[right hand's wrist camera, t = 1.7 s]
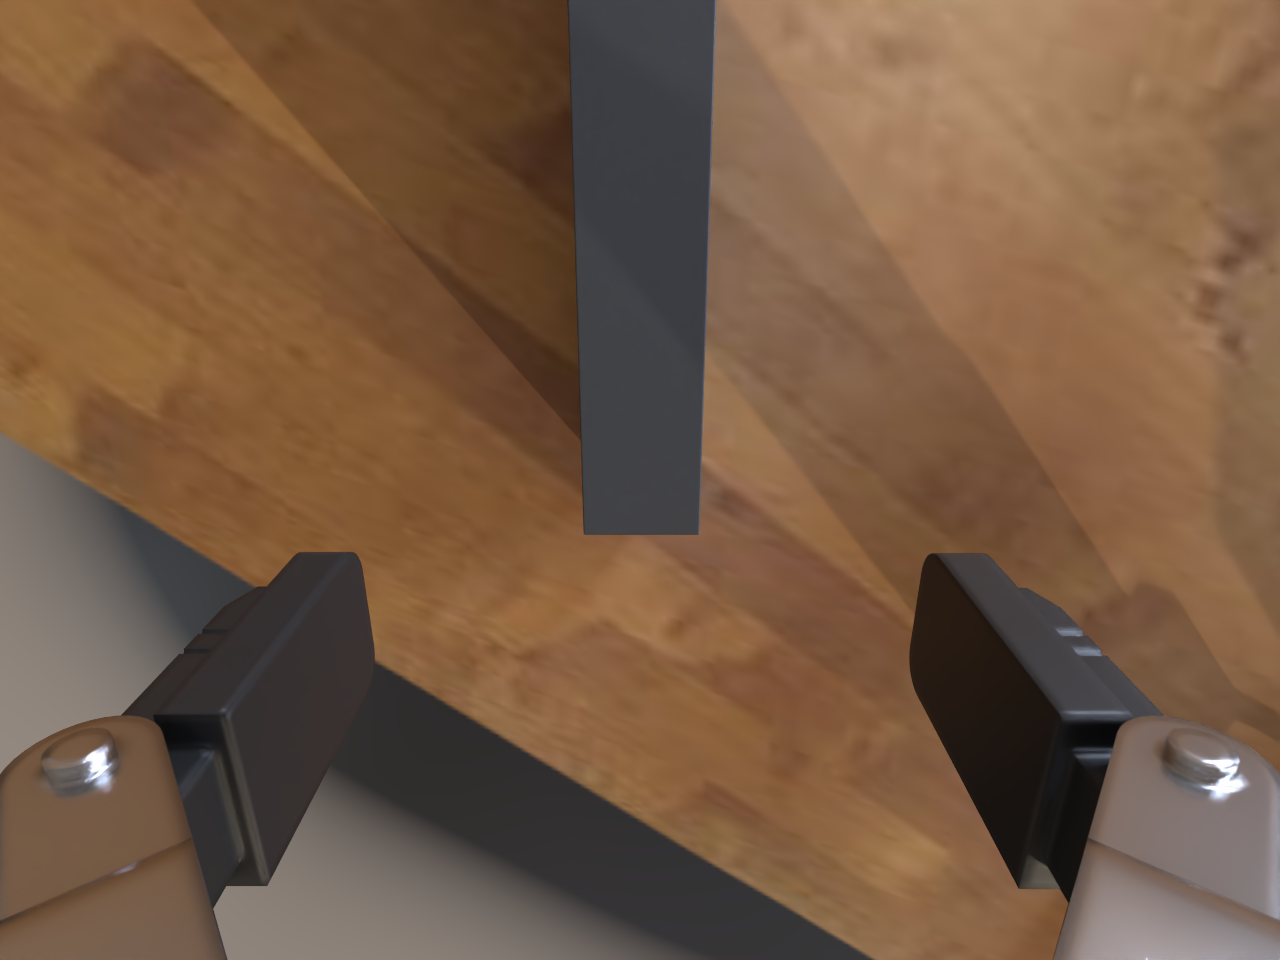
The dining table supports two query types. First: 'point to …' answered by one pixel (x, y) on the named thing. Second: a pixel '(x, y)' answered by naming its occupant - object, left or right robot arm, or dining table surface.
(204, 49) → the dining table surface
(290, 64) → the dining table surface
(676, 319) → the bar
